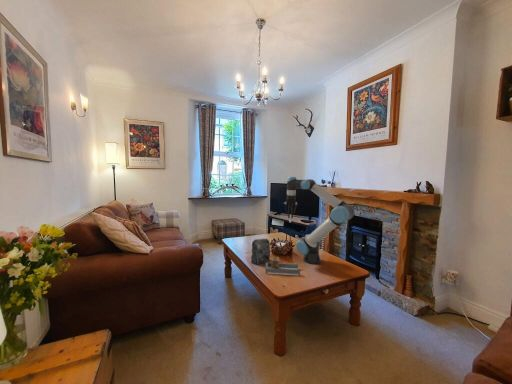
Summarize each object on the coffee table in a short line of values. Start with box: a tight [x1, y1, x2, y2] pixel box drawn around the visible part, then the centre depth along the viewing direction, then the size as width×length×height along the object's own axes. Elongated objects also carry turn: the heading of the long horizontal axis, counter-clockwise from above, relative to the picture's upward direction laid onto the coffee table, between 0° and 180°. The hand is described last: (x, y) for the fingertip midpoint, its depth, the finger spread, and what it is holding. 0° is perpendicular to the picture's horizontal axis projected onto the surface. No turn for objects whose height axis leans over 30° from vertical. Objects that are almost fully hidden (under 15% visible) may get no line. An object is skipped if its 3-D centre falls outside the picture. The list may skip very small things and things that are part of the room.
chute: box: [265, 261, 300, 276], centre depth 176 cm, size 26×12×4 cm, turn 85°
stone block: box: [250, 238, 271, 265], centre depth 193 cm, size 18×9×20 cm, turn 124°
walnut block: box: [270, 256, 280, 268], centre depth 177 cm, size 6×8×8 cm
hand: (290, 222), depth 195 cm, fingers closed
